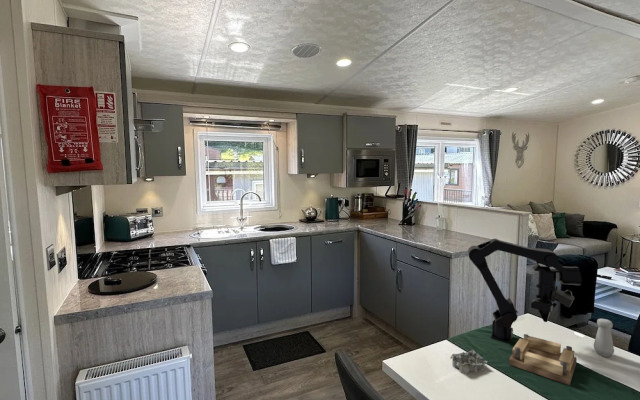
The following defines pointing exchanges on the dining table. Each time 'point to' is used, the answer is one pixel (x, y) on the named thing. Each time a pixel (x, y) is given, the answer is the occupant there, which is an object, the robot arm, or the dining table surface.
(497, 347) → the dining table surface
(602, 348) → the salt shaker
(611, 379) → the dining table surface
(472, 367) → the grey jagged rock
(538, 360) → the wooden slat frame
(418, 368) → the dining table surface
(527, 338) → the hinged leg
